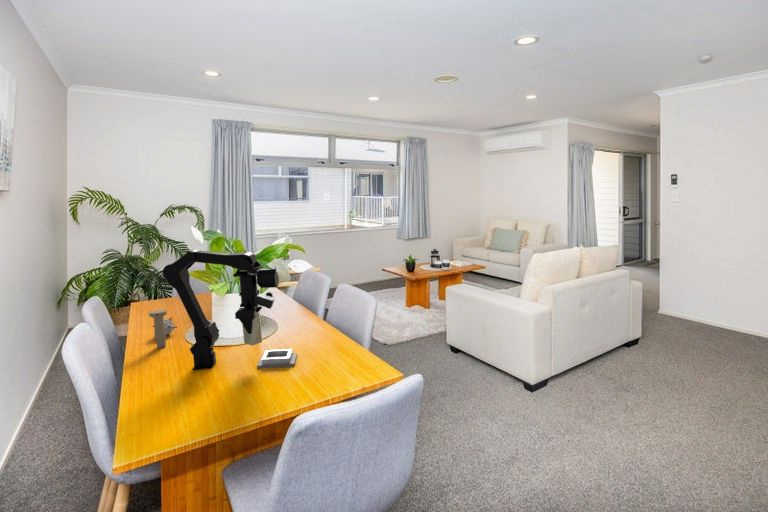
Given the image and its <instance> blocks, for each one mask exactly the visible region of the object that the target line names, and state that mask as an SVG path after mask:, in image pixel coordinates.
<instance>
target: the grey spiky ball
mask: <svg viewBox="0 0 768 512" xmlns="http://www.w3.org/2000/svg"><path fill="white" fill-rule="evenodd" d="M172 318H173V317H170V318H163V321H164V327H165V333H166V336H168V337H170V334H171V333H172V332H173V331H174V330H175V329H177V328H178V326H176V325H175V323H174V322H173V320H172ZM151 327H153V328H154V325H152V326H151Z"/></svg>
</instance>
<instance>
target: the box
mask: <svg viewBox="0 0 768 512" xmlns="http://www.w3.org/2000/svg"><path fill="white" fill-rule="evenodd" d="M256 315H257V316H256V317H255V318H254V319H253V326H252V333H251V334H248V332H247V331H246V329H245V328H244V326H243V324H242V323H241V325H242V332H243V344H246V345H249V346H256V345H258V344H261V343H262V342H263V340H262V337H263V336H262V328H261V317H260V312H258V313H257V312H256Z"/></svg>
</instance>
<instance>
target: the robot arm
mask: <svg viewBox="0 0 768 512" xmlns="http://www.w3.org/2000/svg"><path fill="white" fill-rule="evenodd" d="M195 263H201V264H211V265H222V266H223V265H224V266H227V267H231V268H233V269H235V270H236V271H235V272H234V273H233V274H232V277H233V278H236V277H237V278H238V280H239V290H240V291H239V293H238V296H240V303H239V308H238V309H237V310H236V311H235V319H236V320H239V321H240V323H241V325H242V324H243V325H242V327H243V326H244V328H245V329H246V331H247V332H248V334H251V333H252V326H253V319H254V318H255V317H256V316H257V315H256V312H257V313H260V312H261V310H262V308H263V307H264V308H266V309H270V310H271V309H272V307H273V305H274V302H275V298H276V297H275V296H273V292H272V291H267V292H266V293H260V289H258V287H260V288H261V289H265V288H266V289H267V288H268V289H269V288H271V289H272V288H273V289H274V288H278V287H279V285H280V276H279V274H278V271H277V268H275V267H272V268H264V267H263V265H262V264H261V263H260V262H259V261H258V258H257V256H256V255H255V254H254V253H253V252H251V251H245V252H243V251H241V252H234V253H229V252H228V253H227V252H217V251H208V250H207V251H205V250H198V249H191V250H188V251H187V252H186V253H184V255H183V256H181V257H180V258H178V259H177V260H175V261H174V262H172V263H169V264H167V265H165V266H164V268H163V269H162V272H161V273H162V276H163V278H164V280H165V281H166V282H167V283H168V285H170V286H171V287H172V288H173V289H175V290H176V293H177V295H178V296H179V299H180V301H181V303H182V305H183V307H184V308H185V312H186V313H187V315H188V317H189V319H190V321H191V324H192V325H193V336H194V338H195V342H194V344H193V345H191V347H190V348H189V351H190V354H191V355H192V358H193V365H194V366H193V367H192V370H193V371H196V370H210V369H213V367H214V365H216V363H217V357H216V351H214V346H215V343H216V342H217V341H218V340H219V338H220V333H219V332H220V329H219V328H218V327H217V324H216V321H213V322H211V321H210V320H208V318H207V317H206V315H205V313H204V310H203V309H202V306H201V305H200V302H199V301H198V298H197V296H196V294H195V292H194V290H193V288H192V286H191V284H190V283H191V281H190V272H189V269H190V268H191V267H193V266H194V264H195Z"/></svg>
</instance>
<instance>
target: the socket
mask: <svg viewBox="0 0 768 512" xmlns="http://www.w3.org/2000/svg"><path fill="white" fill-rule="evenodd" d="M297 356H298V353H297V352H294V353H293V348H286V349H269V350H268V349H267V350H264V353H263V354H262V355H261V356H260V359H259V361H258V363H257V366H256V368H257V369H269V368H270V369H272V368H285V367H295V365H296V362H297Z"/></svg>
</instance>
